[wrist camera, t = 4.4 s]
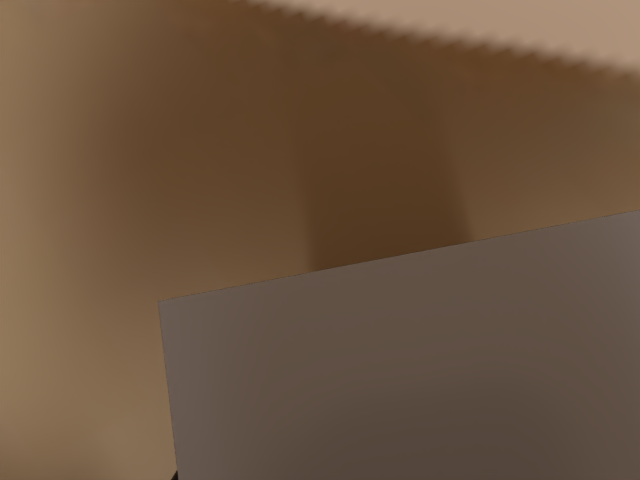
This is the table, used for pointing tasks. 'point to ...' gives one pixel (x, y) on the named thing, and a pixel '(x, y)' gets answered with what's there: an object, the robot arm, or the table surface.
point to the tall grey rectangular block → (419, 365)
